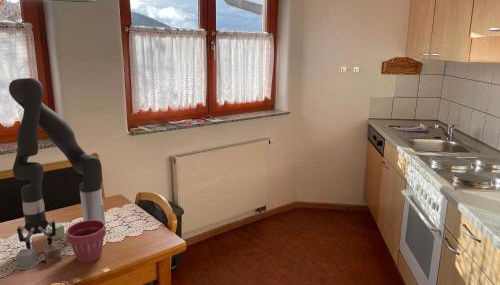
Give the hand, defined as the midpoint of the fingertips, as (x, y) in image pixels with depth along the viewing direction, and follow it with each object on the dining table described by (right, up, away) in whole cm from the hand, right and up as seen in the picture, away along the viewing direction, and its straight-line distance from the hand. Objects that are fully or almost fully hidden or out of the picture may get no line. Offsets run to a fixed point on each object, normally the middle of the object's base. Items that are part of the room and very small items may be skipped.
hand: (39, 247), depth 162 cm
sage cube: (+1, +2, +12) cm, 12 cm away
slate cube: (+1, -4, -10) cm, 11 cm away
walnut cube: (+9, -3, -7) cm, 12 cm away
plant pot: (+23, -3, -6) cm, 24 cm away
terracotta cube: (0, -1, 0) cm, 1 cm away
